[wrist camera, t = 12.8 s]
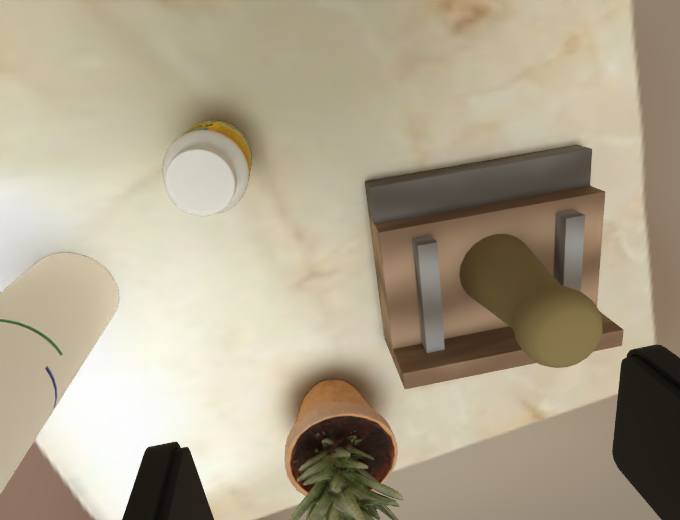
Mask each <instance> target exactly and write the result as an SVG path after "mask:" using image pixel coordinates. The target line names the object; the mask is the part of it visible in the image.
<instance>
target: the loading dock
mask: <svg viewBox="0 0 680 520" xmlns="http://www.w3.org/2000/svg"><path fill="white" fill-rule="evenodd" d="M591 158H592V149H590V148H587V147H583V146H579V145H575V146H569V147H563V148H557V149H552V150H546V151H540V152H534V153H529V154H523V155H517V156H511V157H506V158H500V159H494V160H488V161H483V162H477V163H471V164H465V165H460V166H454V167H448V168H442V169H437V170H431V171H425V172H419V173H414V174H408V175H402V176H396V177H391V178H385V179H379V180H373V181H367V182H365V185H366V193H367V201H368V209H369V217H370V225H371V233H372V241H373V249H374V257H375V265H376V273H377V281H378V289H379V297H380V305H381V313H382V321H383V328H384V336H385V341H386V343H387V346H388V348H389V351H390V353H391V356H392V358H393V361H394V363H395V366H396V368H397V371H398V373H399V376H400V378H401V381H402V383H403V386H404V388H405V389H408V388H413V387H418V386H423V385H428V384H433V383H438V382H443V381H448V380H453V379H458V378H463V377H468V376H473V375H478V374H483V373H488V372H493V371H498V370H503V369H508V368H513V367H518V366H523V365H528V364H533V363H537V362H536V361H534V360H533V359H531V358H530V357H528V356H527V355H526V354H525V353H524V351H523V350H522V349H521V347H520V346H519V344H518V342H517V340H516V337H515V333H514V329H512V328H511V327H510V326H508V325H507V324H506V323H504V322H503V321H502V320H500V319H499V318H498V317H497V316H495V315H494V314H493V313H491V312H490V311H489V310H487V309H486V308H485V307H483V306H482V305H481V304H480V303H478V302H477V301H476V300H474V299H473V298H472V297H470V296H469V295H468V294H467V293H466V292H465V290H464V289H463V287H462V285H461V281H460V276H459V274H460V267H461V263H462V261H463V259H464V257H465V254H466V253H467V252H468V251H469V250H470V248H471V247H472V246H473V245H474V244H476V243H477V242H479V241H480V240H482V239H483V238H485V237H488V236H491V235H494V234H509V235H512V236H515V237H517V238H519V239H520V240H521V241H522V242H524V243H525V244H526V245H527V246H528V248H529V249H530V250H531V251H532V252H533V253H534V255H535V256H536V257H537V258H538V259H539V260H540V261H541V263H542V264H543V265H544V266H545V267H546V268H547V270H548V271H549V272H550V273H551V274H552V275H553V276H554V278H555V279H556V280H557V281H558V282H559V283H560V285H561V286H565V287H569V288H572V289H575V290H578V291H580V292H582V293H583V294H584V295H586V296H587V297H588V298H589V299H591V300H592V301H593V302H594V304H595V305H596V307H597V296H598V283H599V269H600V255H601V242H602V228H603V215H604V201H605V191H602V190H599V189H597V188H594V187H592V186H590V175H591ZM599 312H600V311H599ZM600 314H601V317H602V328H603V332H602V336H601V339H600V342H599V343H598V345H597V347H596V348H595V350H594V351H598V350H602V349H607V348H612V347H617V346H622V338H623V329H622V328H620V327H619V326H618V325H616V324H615V323H614V322H613V321H611V320H610V319H609V318H607V317H606V316H605V315H603V314H602V313H601V312H600Z"/></svg>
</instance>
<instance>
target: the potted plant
mask: <svg viewBox="0 0 680 520" xmlns="http://www.w3.org/2000/svg"><path fill="white" fill-rule="evenodd" d="M397 454H398V453H397V443H396V440H395V437H394V434H393V432H392V430H391V428H390V426H389V424H388V423H387V421H386V420H385V419H384V418H383V417H382V416H381V415H380V414H379V413H377V412H376V411H375V410H373V409H372V408H371V407H370V406H369V405H368V404H367V402H366V401H365V400H364V399H363V397H362V396H361V395H360V393H359V392H358V391H357V389H356V388H354V387H353V386H352V385H351V384H349V383H347V382H346V381H343V380H339V379H329V380H325V381H321V382H319V383H318V384H316V385H314V386H313V388H312V389H311V390H310V391H309V392H308V393H307V394H306V395H305V397H304V399H303V402H302V405H301V408H300V411H299V414H298V417H297V420H296V423H295V426H294V427H293V428H292V430H291V432H290V434H289V436H288V438H287V442H286V445H285V468H286V472H287V476H288V478H289V480H290V482H291V483H292V485H293V486H294V487H295V488H296V490H297V491H299V492H300V493H302V494H303V495H305V496H306V497H305V498H304V499H303V500H302V502H301V503H300V504H299V506H298V507H297V508H296V510H295V512H294V513H293V514H292V516H291V519H290V520H298V519H299V518H300V517H301V516H302V515H303V514H304V513H305V511H306V510H308V511H307V515H306V520H374V519H373V518H372V517H374V518H375V519H377V520H379V519H380V517H379V515H378V513H377V511H376V509H379V510H381V511H382V512H383V513H385V514H386V515H387V516H388V517H389V518H390V519H392V520H398V519H397V517H395V515H394V514H393V513H392V512H391V510H390V509H389V508H388V507H387V506H386V505H391V506H396V507H399V504H398V503H397V502H396V501H395V500H393V499H390V498H388V497H385V496H383V495H380V494H377V493H375V492H373V491H374V490H376V491H378V492H380V493H382V494H384V495H387V496H389V497H392V498H396V499H399V500H403V497H402V495H401V494H400V493H399V492H397V491H395V490H394V489H392V488H390V487H388V486H386V485H383V482H384V481H385V480H386V479H387V478H388V477H389V475H390V474H391V472H392V470H393V468H394V467H395V465H396V460H397ZM317 503H318V504H317Z"/></svg>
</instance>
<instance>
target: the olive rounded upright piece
mask: <svg viewBox="0 0 680 520" xmlns="http://www.w3.org/2000/svg"><path fill="white" fill-rule="evenodd" d="M459 276H460V281H461V285H462V287H463V289H464V290H465V292H466V293H467V294H468V295H469V296H470V297H472V298H473V299H474V300H476V301H477V302H478V303H480V304H481V305H482V306H483V307H485V308H486V309H487V310H489V311H490V312H491V313H493V314H494V315H495V316H497V317H498V318H499V319H500V320H502V321H503V322H504V323H506V324H507V325H508V326H510V327H511V328H512V329H514V333H515V337H516V340H517V342H518V344H519V346H520V347H521V349H522V350H523V351H524V353H525V354H526V355H527V356H528V357H530V358H531V359H533V360H534V361H536V362H537V363H539V364H541V365H545V366H549V367H555V368H560V367H568V366H572V365H575V364H577V363H579V362H581V361H582V360H584V359H586V358H587V357H588V356H589V355H590V354H591V353H592V352H593V351H594V350H595V348H596V347H597V345H598V343H599V342H600V339H601V336H602V332H603V328H602V317H601V314H600V312H599V310H598V308H597V307H596V305H595V304H594V302H593V301H592V300H591V299H589V298H588V297H587V296H586V295H584V294H583V293H582V292H580V291H578V290H575V289H572V288H569V287H565V286H561V285H560V283H559V282H558V281H557V280H556V279H555V278H554V276H553V275H552V274H551V273H550V272H549V271H548V270H547V268H546V267H545V266H544V265H543V264H542V263H541V261H540V260H539V259H538V258H537V257H536V256H535V255H534V253H533V252H532V251H531V250H530V249H529V248H528V246H527V245H526V244H525V243H524V242H522V241H521V240H520V239H519V238H517V237H515V236H512V235H509V234H494V235H491V236H488V237H485V238H483V239H482V240H480V241H479V242H477V243H476V244H474V245H473V246H472V247H471V248H470V250H469V251H468V252H467V253H466V254H465V257H464V259H463V261H462V263H461V267H460V274H459Z"/></svg>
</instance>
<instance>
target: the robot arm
mask: <svg viewBox="0 0 680 520" xmlns="http://www.w3.org/2000/svg"><path fill="white" fill-rule="evenodd" d="M612 451H613V458H614V461H615V463H616V465H617V467H618V468H619V470H620V471H621V472H622V473H623V474H624V476H625V477H626V478H627V479H628V480H629V481H630V483H631V484H632V485H633V486H634V487H635V489H636V490H637V491H638V492H639V493H640V494H641V496H642V497H643V498H644V499H645V500H646V502H647V503H648V504H649V505H650V506H651V507H652V509H653V510H654V511H655V512H656V513H657V515H658V516H659V517H660V518H661V519H662V520H680V358H679V357H677V356H676V355H675V354H673V353H672V352H671V351H669V350H668V349H667V348H665V347H663V346H661V345H652V346H647V347H642V348H637V349H633V350H630V351H629V353H628V354H627V358H625V359H623V360H622V363H621V372H620V381H619V391H618V401H617V411H616V421H615V431H614V440H613V450H612ZM122 520H214V518H213V515H212V513H211V510H210V507H209V504H208V501H207V498H206V495H205V492H204V490H203V487H202V484H201V481H200V478H199V475H198V472H197V470H196V467H195V464H194V461H193V458H192V455H191V452H190V450H189V448H188V447H184V448H180V445H179V444H178V443H177V442H172V443H167V444H162V445H157V446H152V447H148V448H147V449H146V451H145V453H144V456H143V459H142V462H141V465H140V468H139V471H138V474H137V477H136V480H135V483H134V486H133V489H132V492H131V495H130V498H129V501H128V504H127V507H126V510H125V513H124V516H123V519H122Z"/></svg>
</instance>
